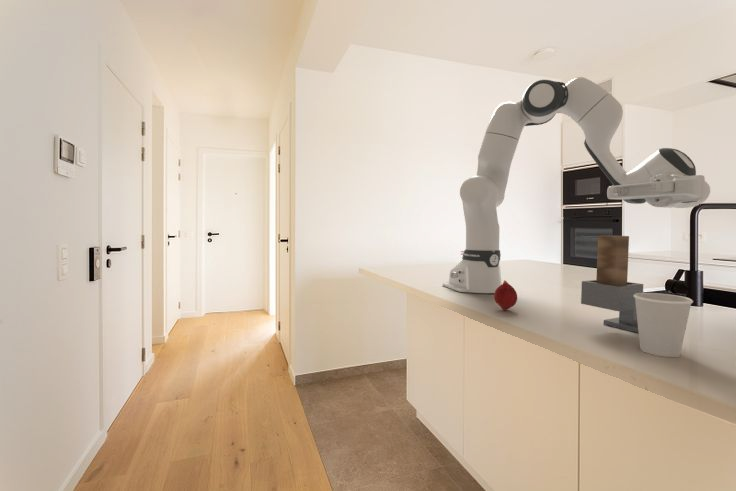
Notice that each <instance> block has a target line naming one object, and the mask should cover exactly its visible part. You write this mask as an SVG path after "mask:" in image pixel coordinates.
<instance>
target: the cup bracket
mask: <svg viewBox="0 0 736 491" xmlns="http://www.w3.org/2000/svg"><path fill="white" fill-rule="evenodd" d="M636 293H644V284H643V283H638V282H630V281H627V285H621V286H615V285H608V284H602V283H596V279H591V280H582V281H581V293H580V294H581V295H580V298H581V299H580V304H581V305H585V306H591V307H595V308H600V309H606V310H609V311H614V312H619V314H618V317H612V318H608V319H603V325H605V326H609V327H614V328H618V329H621V330H626V331H630V332H633V333H638V334H639V331H638V322H637V312H636V303H635V297H634V296H633V295H634V294H636Z"/></svg>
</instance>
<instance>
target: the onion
mask: <svg viewBox="0 0 736 491" xmlns="http://www.w3.org/2000/svg"><path fill="white" fill-rule="evenodd" d="M493 294H494V295H493V299H494V302H495V303H496V304H497V305H498V306H499V307H500V308H501V310H503V311H507V310H509V309H510V308H512V307H514V306H515V305H516V303H517V302H518V293H517V291H516V290H515V288H514V287H513V286H512V285H511V284H509V283H508V282H507V280H505V279H504V280H503V282H502V285H500V286H499V287H498V288H497V289H496V291H495V293H493Z"/></svg>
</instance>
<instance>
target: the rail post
mask: <svg viewBox="0 0 736 491" xmlns="http://www.w3.org/2000/svg"><path fill="white" fill-rule="evenodd" d="M629 244H630V236H628V235H597V256H596V257H597V258H596V279H595V280H596V283H602V284H608V285H615V286H621V285H627V282H628V275H629V274H628V271H629V250H630V249H629V246H630V245H629Z"/></svg>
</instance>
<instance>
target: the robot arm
mask: <svg viewBox="0 0 736 491" xmlns="http://www.w3.org/2000/svg"><path fill="white" fill-rule="evenodd" d="M557 114H564V115H566V116H567V117H570V118H571V119H572V120H573V121H574V122H575V123H576V124H577V125H578V126H579V127H580V128H581V130H582V131H583V135H584V138H585V139H584V142H583V144H584V147H585V149H586V151H587V153H589V155H590V156H591V158H592V160H593V161H594V162H595V164H596V165H597V166H598V167H599V169H600V170H601V171H602V173H603V174H604V175H605V176H606V178H607V179H608V180H609V181H610V183H611V184H612V185H610V186H608V187H607V190H606V196H607V199H608V200H623V202H626V204H627V203H628V204H634V205H639V204H640V205H641V204H645V203H648V205H650V206H652V207H655V208H669V209H671V208H676V209H684V208H685V209H688V208H694V207H698V206H700V205H701V204H703V203H704V202H705V201H707V200H708V198H709V197H710V194H711V186H710V184H708V182H707V181H706V178H705V175H703V174H698V175H697V168H696V165H695V163H694V161H693V160H692V159H691V158H690V157H689V156H688V155H687V154H686V153H685V152H683V151H681V150H679V149H677V148H669V147H662V148H659V149H658V150H656V151H655V152H654V153H652V154H651V155H649V156H648V157H647V158H645V159H644V160H643V161H642V162H640V163H639V164H638V165H637V166H635V167H634V168H632V169H631V170H629V171H626V170H625V169H624V168H623V166H622V165H621V164H620V163H619V161H618V159H617V158H616V157H615V156H614V155H613V153H612V151H611V148H610V147H611V146H610V145H611V141H612V139H613V137H614V136H615V134H616V132H617V130H618V129H619V127H620V124H621V121H622V119H623V115H624V114H623V106H622V103H621V102H619V100H618V99H616V97H614V96H613V95H612V94H611V93H610V92H608V91H607V90H606V89H604V88H603V87H602V86H600V85H599V84H597V83H595V82H594V81H592V80H590V79H588V78H586V77H583V76H578V77H575V78H572V79H571V80H569V81H568V82H567V83H564V82H563V81H554V80H550V79H539V80H536V81H534V82H532V83H531V84H530V85H529V86H528V87H527V88H526V89H525V91H524V92H523V95H522V98H521V100H520V101H517V102H512V101H507V102H502V103H500V104H499V105H497V107H496V108H495V110H494V111H493V113H492V115H491V118H490V120H489V122H488V125H487V127H486V131H485V133H484V136H483V139H482V142H481V145H480V149H479V151H478V154H477V171H476V175H474V176H471V177H468V178H467V179H465V180H464V181H463V182H462V183H461V186H460V188H459V197H460V198H461V201H462V208H463V216H464V221H465V249H464V250H462V251H460V255H462V258H461V259H462V260H460V262H458V263H457V264H456V265H455V266H453V267H452V268H451V269H450V272H449V278H448V279H449V280H448V281H446V282H443V283H442V286H443V287H446V288H449V289H451V290H454V291H457V292H460V293H475V294H495V291H496V289H497V288H498V287H499V286H500V285H502V284H503V282H502V272H501V266H500V261H501V256H502V254H501V250H500V224H499V221H498V220H499V218H498V212H497V211H498V210H497V208H498V207H499V206H500V205H502V203H503V202H504V200H505V195H506V194H505V193H506V189H507V185H508V181H509V175H510V169H511V165H512V162H513V159H514V156H515V153H516V150H517V148H518V147H517V146H518V144H519V140H520V138H521V135H522V132H523V129H524V127H529V126H530V127H531V126H540V125H543V124H546V123H548V122H550V121H551V120H552V119H553V118H554V117H555V116H556V115H557ZM699 204H700V205H699Z"/></svg>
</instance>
